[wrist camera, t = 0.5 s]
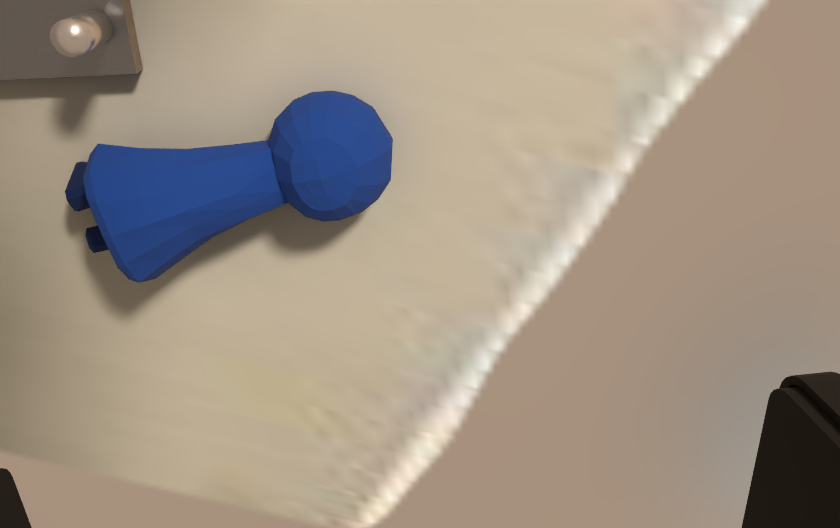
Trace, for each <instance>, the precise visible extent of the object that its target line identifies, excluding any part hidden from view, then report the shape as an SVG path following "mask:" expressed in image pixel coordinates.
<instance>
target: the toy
mask: <svg viewBox="0 0 840 528" xmlns="http://www.w3.org/2000/svg"><path fill="white" fill-rule="evenodd" d="M392 142H393V139H392V137H391V135H390V133H389V132H388V130H387V129H386V127H385V126H384V124H383V122H382V121H381V119H380V118H379V116H378V114H377V113H376V111H375V109H374V108H373V107H372V106H370V105H368V104H367V103H365V102H363V101H362V100H360V99H358V98H357V97H355V96H353V95H349V94H345V93H341V92H336V91H324V92H312V93H309V94H307V95H304V96H302V97H300V98H297V99H295V100H293V101H292V102H291V103H290V104H289V105H288V106H287V107H286V109H285V110H284V111H283V112H282V113H281V114H280V115H279V116H278V117H277V118H276V119H275V122H274V125H273V128H272V132H271V135H270V139H269V140H267V141H259V142H251V143H243V144H235V145H225V146H214V147H204V148H193V149H147V148H132V147H123V146H114V145H105V144H97V146H96V147H95V148H94V150H93V151H92V152H91V154H90V156H89V160H88V162H78V163H76V165H75V168H74V170H73V173H72V175H71V178H70V180H69V183H68V185H67V188H66V190H65V193H66V198H67V201H68V202H69V204H70V205H71V207H72V208H73V210H75V211H81V210H84V209H87V208H91V210H92V213H93V215H94V217H95V220H96V222H97V225H98V226H95V227H91V228H87V229H86V238H87V241H88V245H89V248H90V249H91V250H92V251H93V252H94V253H96V252H100V251H104V250H109V251H110V253H111V255H112V257H113V259H114V261H115V263H116V265H117V267H118V268H119V269H120V270H121V271H122V272H123V273H124V274H125V275H126V276H127V278H128V279H130V280H133V281H136V282H143V281H147V280H151V279H155V278H157V277H158V276H160V275H161V274H162V273H164V272H165V271H166V270H168V269H169V268H170V267H172V266H173V265H174V264H176V263H177V262H179V261H180V260H181V259H183V258H184V257H185V256H187V255H188V254H190V253H191V252H192V251H194V250H195V249H197V248H198V247H199V246H201V245H202V244H203V243H205V242H206V241H208V240H209V239H210V238H212V237H214V236H216V235H218V234H220V233H222V232H224V231H226V230H228V229H230V228H232V227H233V226H235V225H237V224H239V223H241V222H243V221H245V220H247V219H249V218H252V217H254V216H256V215H259V214H261V213H264V212H266V211H269V210H271V209H274V208H276V207H279V206H281V205H284V204H286V203H290V204H291V205H292V206H293V207H294V208H296V209H297V210H298V211H299V212H301V213H302V214H303V215H304V216H306V217H309V218H312V219H316V220H320V221H334V220H341V219H344V218H347V217H349V216H352V215H355V214H357V213H360V212H362V211H363V210H365V209H366V208H367V207H369V206H370V205H371V204H373V203H374V202H375V201H376V200H378V198H379V197H380V195H381V194H382V192H383V191H384V189H385V188H386V186H387V185H388V183H389V182H390V180H391V162H392Z"/></svg>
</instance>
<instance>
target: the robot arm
mask: <svg viewBox="0 0 840 528" xmlns="http://www.w3.org/2000/svg"><path fill="white" fill-rule="evenodd" d="M0 528H31V525H30V523H29V520H28V517H27V515H26V512H25V509H24V506H23V504H22V501H21V498H20V496H19V493H18V490H17V488H16V485H15V482H14V480H13V477H12V475H11V473H10V472H9V471H8V470H7V469H3V468H1V469H0ZM742 528H840V374H838V373H835V372H824V373H814V374H804V375H795V376H790V377H786V378H785V379H784V380H783V381H782V383H781V385H780V388H779V389H776V390H773V392H772V393H771V394H770V397H769V400H768V405H767V409H766V414H765V419H764V424H763V429H762V433H761V438H760V443H759V448H758V452H757V457H756V462H755V467H754V471H753V476H752V481H751V486H750V491H749V496H748V500H747V505H746V510H745V514H744V519H743V524H742Z"/></svg>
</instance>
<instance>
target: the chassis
mask: <svg viewBox="0 0 840 528" xmlns="http://www.w3.org/2000/svg"><path fill="white" fill-rule="evenodd" d="M142 69H143V68H142V63H141V57H140V52H139V47H138V41H137V36H136V31H135V26H134V20H133V15H132V10H131V5H130V0H0V80H15V79H37V78H58V77H80V76H101V75H123V74H137V73H138V72H139V71H141V70H142Z"/></svg>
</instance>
